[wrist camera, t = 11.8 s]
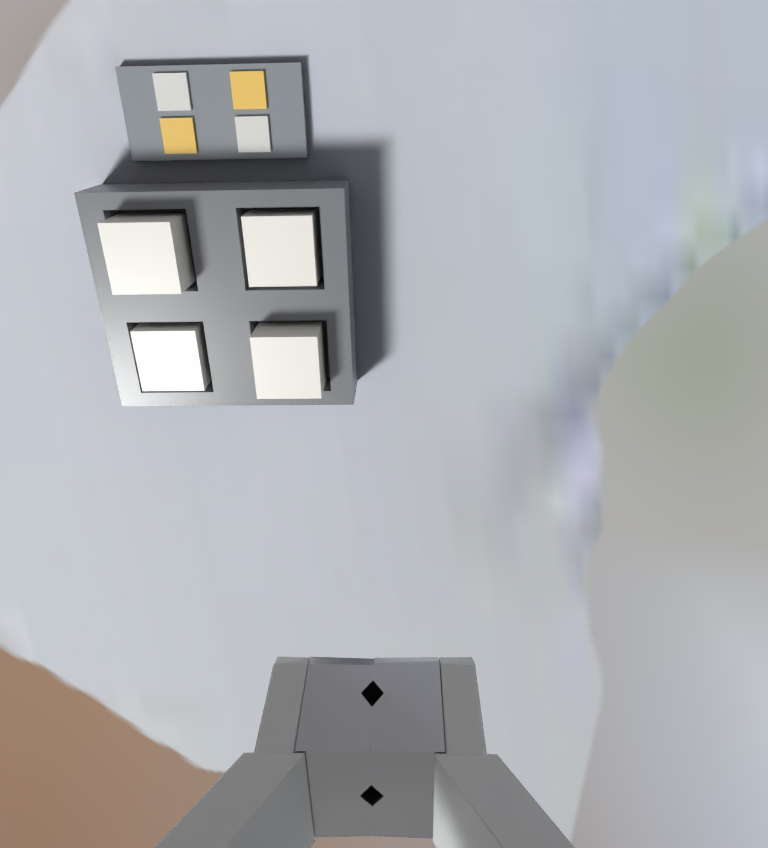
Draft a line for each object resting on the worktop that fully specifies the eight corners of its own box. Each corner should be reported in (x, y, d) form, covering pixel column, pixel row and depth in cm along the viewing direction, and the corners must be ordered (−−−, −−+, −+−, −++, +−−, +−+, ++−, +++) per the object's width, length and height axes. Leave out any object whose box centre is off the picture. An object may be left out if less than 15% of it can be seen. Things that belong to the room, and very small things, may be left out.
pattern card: (301, 62, 39) (300, 62, 38) (308, 156, 41) (306, 158, 41) (119, 66, 39) (113, 66, 38) (136, 160, 42) (131, 161, 41)
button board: (348, 179, 42) (343, 188, 38) (357, 380, 48) (353, 404, 45) (101, 184, 42) (74, 193, 39) (142, 382, 49) (122, 406, 45)
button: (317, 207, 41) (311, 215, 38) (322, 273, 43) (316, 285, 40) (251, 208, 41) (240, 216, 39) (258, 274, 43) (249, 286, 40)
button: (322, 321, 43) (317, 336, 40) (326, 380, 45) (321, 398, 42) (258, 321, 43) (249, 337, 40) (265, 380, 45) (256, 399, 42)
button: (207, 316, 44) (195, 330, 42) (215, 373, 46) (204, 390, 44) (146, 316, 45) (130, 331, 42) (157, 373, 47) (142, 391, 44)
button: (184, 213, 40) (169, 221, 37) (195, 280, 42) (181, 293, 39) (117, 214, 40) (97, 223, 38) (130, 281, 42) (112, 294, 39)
